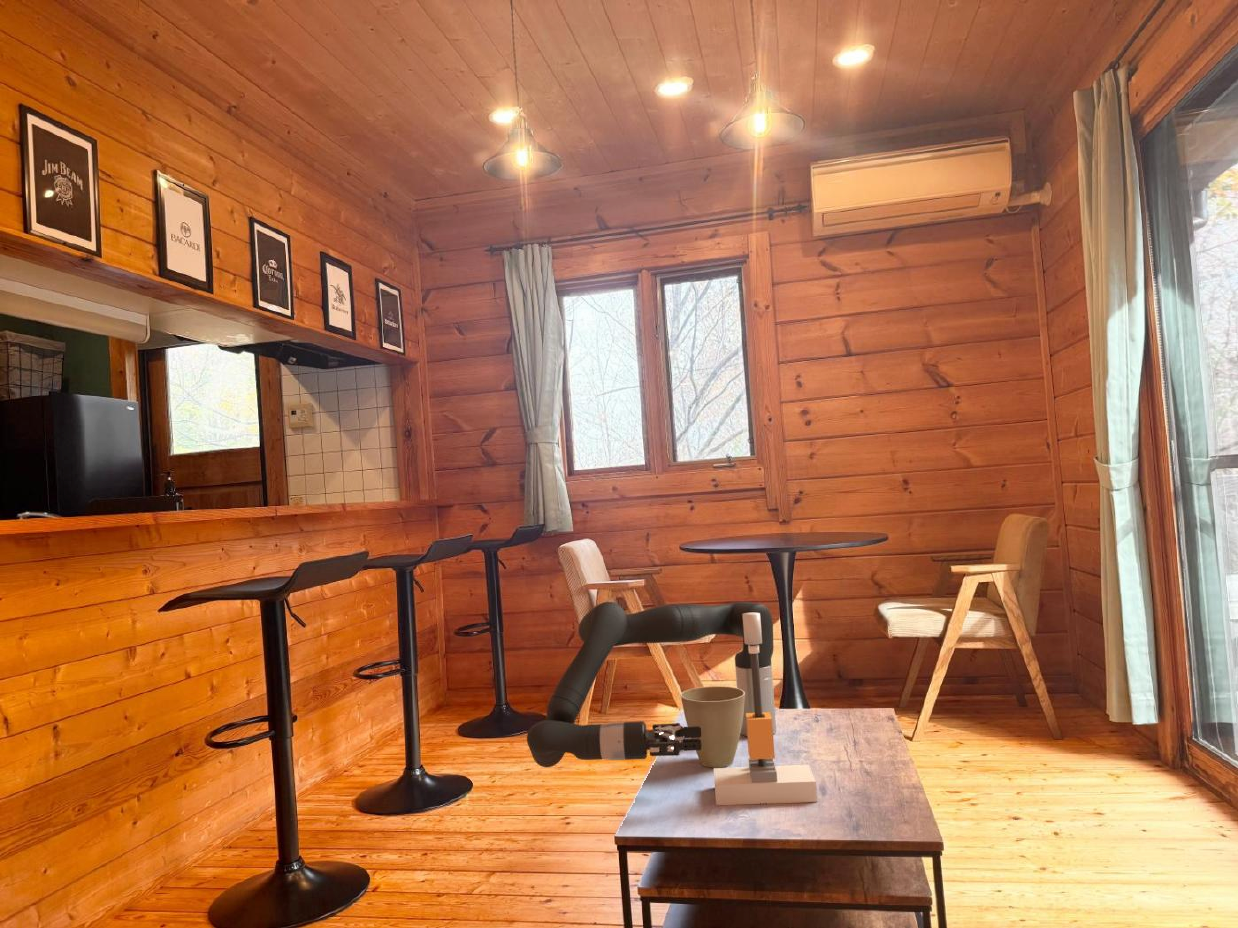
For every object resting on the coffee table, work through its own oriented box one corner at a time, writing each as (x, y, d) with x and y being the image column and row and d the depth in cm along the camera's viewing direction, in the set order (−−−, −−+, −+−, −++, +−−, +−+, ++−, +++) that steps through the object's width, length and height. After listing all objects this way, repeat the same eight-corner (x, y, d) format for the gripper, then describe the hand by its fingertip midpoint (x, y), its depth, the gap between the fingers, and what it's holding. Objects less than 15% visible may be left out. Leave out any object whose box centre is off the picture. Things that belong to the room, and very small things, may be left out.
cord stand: (714, 787, 178) (702, 612, 179) (810, 783, 176) (797, 607, 177) (716, 805, 168) (703, 620, 169) (817, 801, 166) (803, 614, 167)
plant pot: (748, 773, 185) (743, 700, 186) (681, 773, 188) (676, 701, 188) (751, 751, 200) (746, 684, 200) (689, 752, 203) (684, 685, 203)
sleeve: (748, 751, 175) (745, 713, 175) (772, 750, 175) (769, 712, 175) (750, 759, 170) (747, 719, 170) (774, 758, 170) (772, 718, 170)
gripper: (619, 732, 168) (700, 729, 167) (625, 713, 182) (699, 710, 181) (621, 770, 168) (702, 767, 166) (627, 748, 182) (702, 745, 180)
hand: (701, 737), depth 174 cm, fingers open, 8 cm apart
